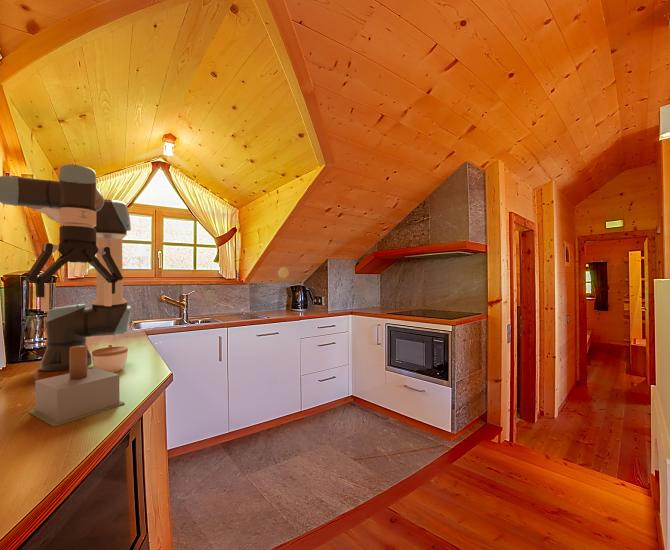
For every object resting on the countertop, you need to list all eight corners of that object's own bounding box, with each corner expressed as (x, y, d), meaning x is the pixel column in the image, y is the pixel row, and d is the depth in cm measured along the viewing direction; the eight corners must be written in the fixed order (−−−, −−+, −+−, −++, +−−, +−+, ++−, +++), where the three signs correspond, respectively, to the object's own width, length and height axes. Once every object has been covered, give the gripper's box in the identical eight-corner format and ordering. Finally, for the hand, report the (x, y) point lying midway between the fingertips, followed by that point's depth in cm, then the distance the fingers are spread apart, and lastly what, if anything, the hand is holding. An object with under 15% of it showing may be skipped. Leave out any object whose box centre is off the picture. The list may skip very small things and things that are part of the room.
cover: (95, 394, 92) (95, 339, 92) (119, 403, 86) (119, 344, 86) (35, 410, 81) (35, 348, 81) (57, 422, 74) (57, 355, 74)
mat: (97, 394, 94) (97, 392, 94) (124, 404, 86) (124, 402, 86) (29, 412, 81) (29, 411, 81) (53, 427, 73) (53, 425, 73)
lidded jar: (109, 376, 110) (109, 349, 110) (83, 374, 112) (83, 347, 112) (134, 367, 121) (134, 342, 121) (110, 366, 123) (110, 341, 123)
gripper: (18, 218, 71) (18, 314, 71) (136, 231, 92) (136, 305, 92) (6, 221, 75) (7, 312, 75) (122, 232, 96) (122, 303, 96)
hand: (78, 308), depth 84 cm, fingers open, 13 cm apart
